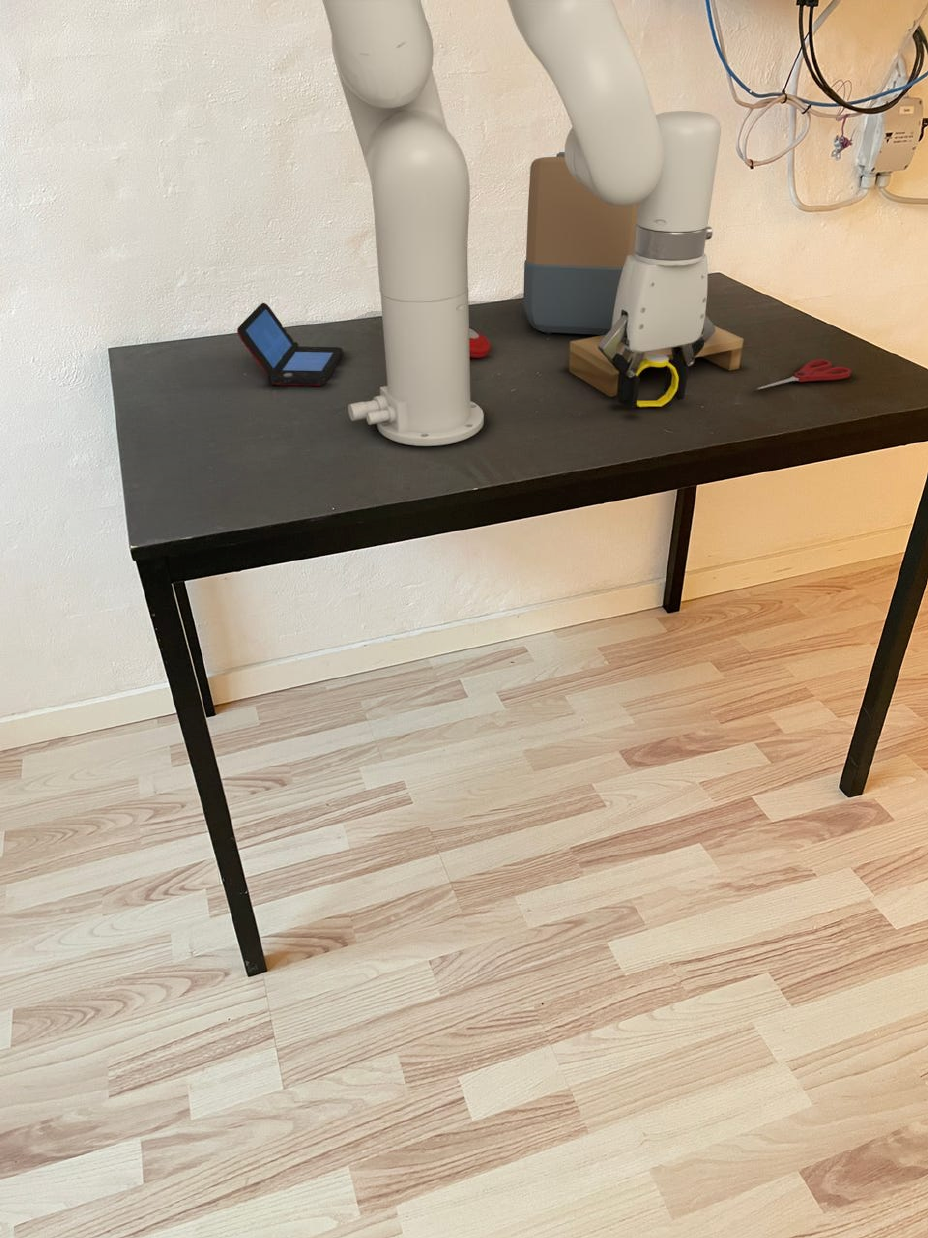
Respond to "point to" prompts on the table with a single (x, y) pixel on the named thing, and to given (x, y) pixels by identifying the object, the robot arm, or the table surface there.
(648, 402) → the watch
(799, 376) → the scissors
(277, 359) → the handheld game console
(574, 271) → the brown blue rounded box
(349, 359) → the table surface
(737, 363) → the desk stand
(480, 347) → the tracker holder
